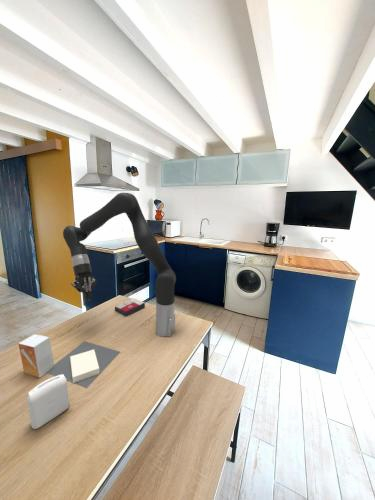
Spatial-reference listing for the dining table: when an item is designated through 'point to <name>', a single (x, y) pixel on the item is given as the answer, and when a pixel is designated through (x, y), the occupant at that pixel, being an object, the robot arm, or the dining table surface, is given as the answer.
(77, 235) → the robot arm
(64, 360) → the charcoal mat
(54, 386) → the photo printer
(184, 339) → the dining table surface
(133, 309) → the red and black box
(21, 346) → the small box
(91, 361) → the cream tile
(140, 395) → the dining table surface
